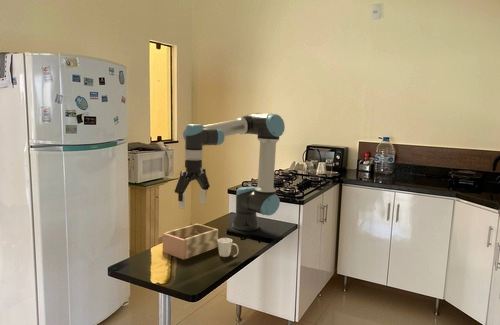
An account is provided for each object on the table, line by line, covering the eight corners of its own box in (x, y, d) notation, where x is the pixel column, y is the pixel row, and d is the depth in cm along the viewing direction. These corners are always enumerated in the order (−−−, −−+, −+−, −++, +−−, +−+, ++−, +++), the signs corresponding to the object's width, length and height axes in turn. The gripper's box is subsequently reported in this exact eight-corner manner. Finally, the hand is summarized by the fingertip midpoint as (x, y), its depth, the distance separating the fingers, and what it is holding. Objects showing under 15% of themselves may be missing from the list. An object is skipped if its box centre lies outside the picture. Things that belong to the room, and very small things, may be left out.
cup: (220, 253, 177) (220, 236, 176) (240, 257, 174) (241, 239, 173) (214, 259, 170) (214, 241, 169) (235, 262, 167) (235, 244, 166)
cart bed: (196, 242, 191) (197, 223, 189) (217, 249, 182) (218, 229, 181) (165, 253, 175) (165, 232, 174) (186, 261, 166) (186, 239, 165)
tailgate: (164, 252, 174) (164, 232, 173) (185, 259, 166) (185, 239, 165) (162, 252, 173) (162, 233, 172) (183, 260, 165) (183, 240, 164)
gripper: (205, 156, 184) (204, 200, 187) (166, 160, 164) (166, 209, 166) (218, 158, 180) (216, 202, 182) (179, 162, 159) (178, 212, 162)
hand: (192, 205), depth 174 cm, fingers open, 13 cm apart
